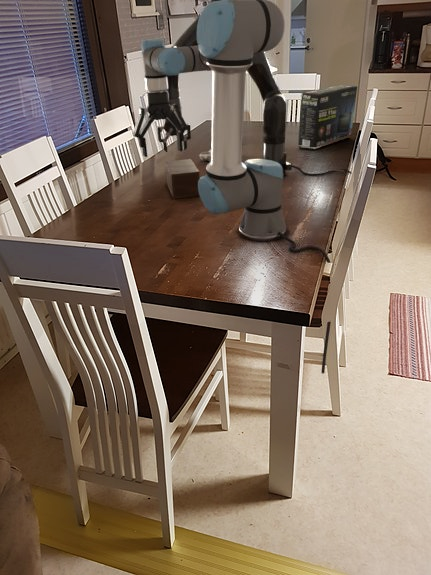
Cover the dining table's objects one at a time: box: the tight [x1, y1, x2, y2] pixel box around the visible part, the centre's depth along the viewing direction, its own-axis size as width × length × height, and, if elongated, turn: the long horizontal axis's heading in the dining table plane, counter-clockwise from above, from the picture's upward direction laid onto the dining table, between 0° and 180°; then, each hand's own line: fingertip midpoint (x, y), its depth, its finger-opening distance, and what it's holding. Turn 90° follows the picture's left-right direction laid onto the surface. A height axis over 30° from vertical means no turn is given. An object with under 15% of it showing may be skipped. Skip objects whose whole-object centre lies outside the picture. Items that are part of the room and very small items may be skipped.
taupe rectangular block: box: [164, 158, 201, 200], centre depth 186 cm, size 18×11×10 cm, turn 13°
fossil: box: [199, 148, 212, 163], centre depth 224 cm, size 18×11×15 cm
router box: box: [297, 84, 358, 151], centre depth 238 cm, size 36×11×27 cm, turn 134°
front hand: (163, 153), depth 168 cm, fingers open, 13 cm apart
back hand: (175, 150), depth 194 cm, fingers open, 7 cm apart
